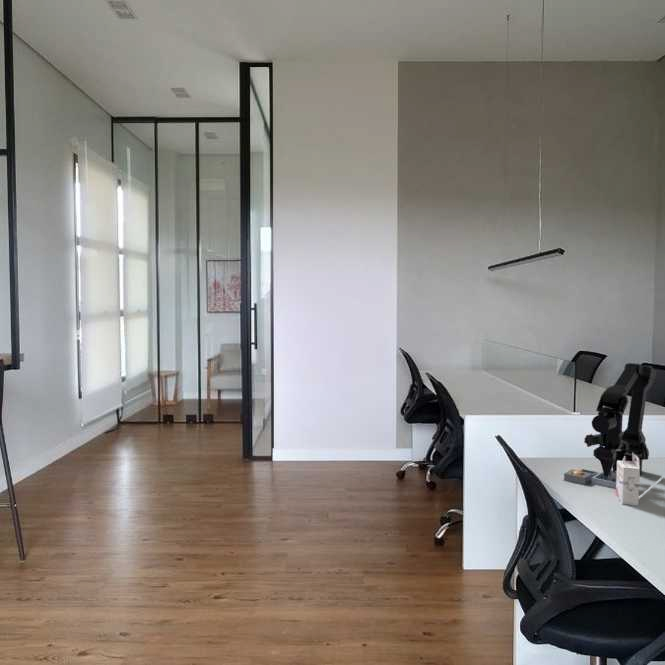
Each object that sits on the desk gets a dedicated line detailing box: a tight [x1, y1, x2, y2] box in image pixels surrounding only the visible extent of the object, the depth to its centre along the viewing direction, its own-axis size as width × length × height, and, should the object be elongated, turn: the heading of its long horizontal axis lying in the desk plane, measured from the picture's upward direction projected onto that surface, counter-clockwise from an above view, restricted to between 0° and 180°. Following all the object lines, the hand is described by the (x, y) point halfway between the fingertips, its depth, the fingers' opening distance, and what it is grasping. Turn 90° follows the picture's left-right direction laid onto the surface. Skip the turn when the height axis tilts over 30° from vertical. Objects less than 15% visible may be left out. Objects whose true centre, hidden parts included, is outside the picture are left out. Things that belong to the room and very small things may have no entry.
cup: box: [591, 471, 617, 490], centre depth 207 cm, size 9×9×2 cm
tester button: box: [574, 470, 583, 476], centre depth 209 cm, size 3×3×2 cm
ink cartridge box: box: [615, 452, 641, 506], centre depth 191 cm, size 9×5×15 cm, turn 168°
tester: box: [563, 468, 599, 486], centre depth 213 cm, size 16×8×3 cm, turn 139°
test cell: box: [604, 469, 617, 482], centre depth 206 cm, size 4×4×4 cm
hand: (610, 473), depth 206 cm, fingers open, 9 cm apart
